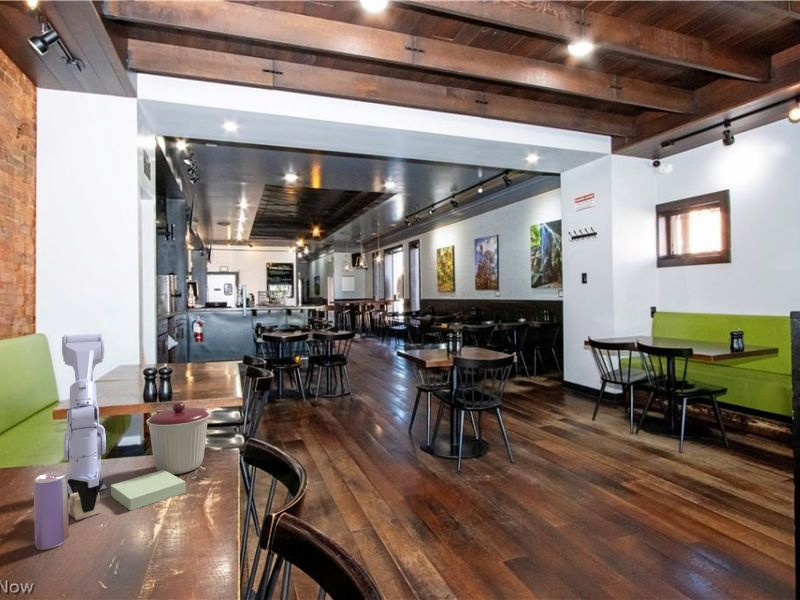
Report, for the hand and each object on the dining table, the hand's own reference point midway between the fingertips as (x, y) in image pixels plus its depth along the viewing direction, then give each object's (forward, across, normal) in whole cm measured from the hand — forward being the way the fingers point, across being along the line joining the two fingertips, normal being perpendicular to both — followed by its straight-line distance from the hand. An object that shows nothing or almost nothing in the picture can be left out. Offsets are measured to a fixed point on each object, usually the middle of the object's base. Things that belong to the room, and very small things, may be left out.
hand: (84, 507), depth 114 cm
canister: (+2, -12, +29) cm, 31 cm away
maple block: (+1, 0, 0) cm, 1 cm away
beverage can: (+2, +10, -9) cm, 14 cm away
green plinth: (+2, 0, +15) cm, 15 cm away
